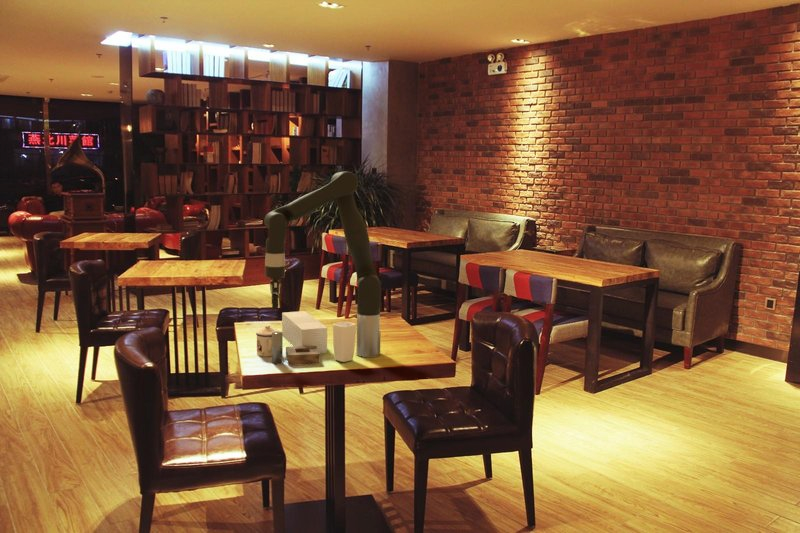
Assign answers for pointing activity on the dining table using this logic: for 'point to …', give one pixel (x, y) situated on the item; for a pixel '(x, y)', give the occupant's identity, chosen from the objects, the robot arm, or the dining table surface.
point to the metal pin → (277, 347)
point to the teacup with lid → (265, 341)
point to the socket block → (302, 355)
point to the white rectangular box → (304, 330)
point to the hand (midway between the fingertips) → (274, 306)
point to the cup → (344, 341)
